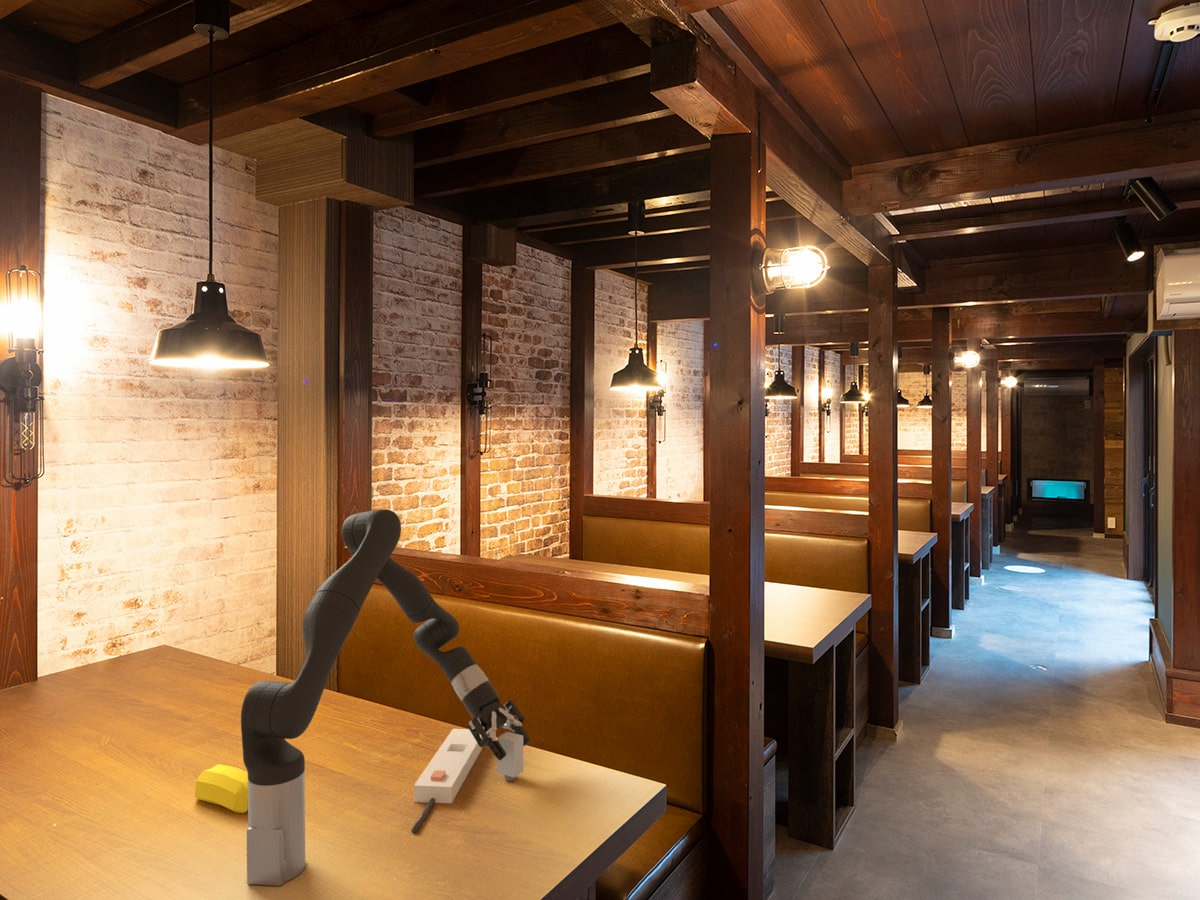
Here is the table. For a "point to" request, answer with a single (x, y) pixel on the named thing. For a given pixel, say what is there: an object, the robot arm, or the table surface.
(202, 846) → the table surface
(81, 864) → the table surface
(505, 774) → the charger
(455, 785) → the power strip
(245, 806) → the yellow banana
